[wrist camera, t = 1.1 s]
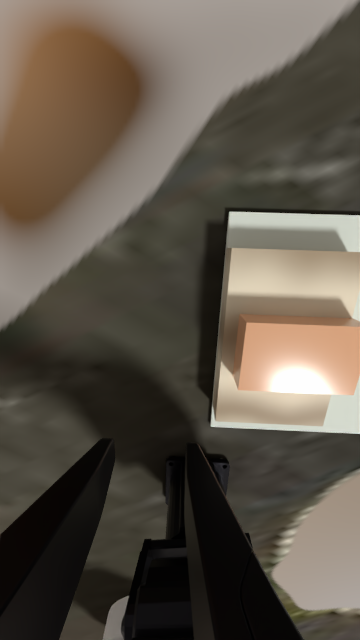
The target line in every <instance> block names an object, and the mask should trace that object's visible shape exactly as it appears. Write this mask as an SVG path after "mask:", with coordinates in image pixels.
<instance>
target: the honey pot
mask: <svg viewBox="0 0 360 640" xmlns="http://www.w3.org/2000/svg"><path fill="white" fill-rule="evenodd" d="M128 598H129V596H126V597H124V598H122V599H120V600H118V601H117V602H115V603H114V604H113V605H112V606H111V608H110V610H109V613H108V617H107V622H106V627H105V631H104V636H103V640H124V639H123V636H122V634H121V623H122V619H123V616H124V614H125V610H126V606H127V602H128Z"/></svg>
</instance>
